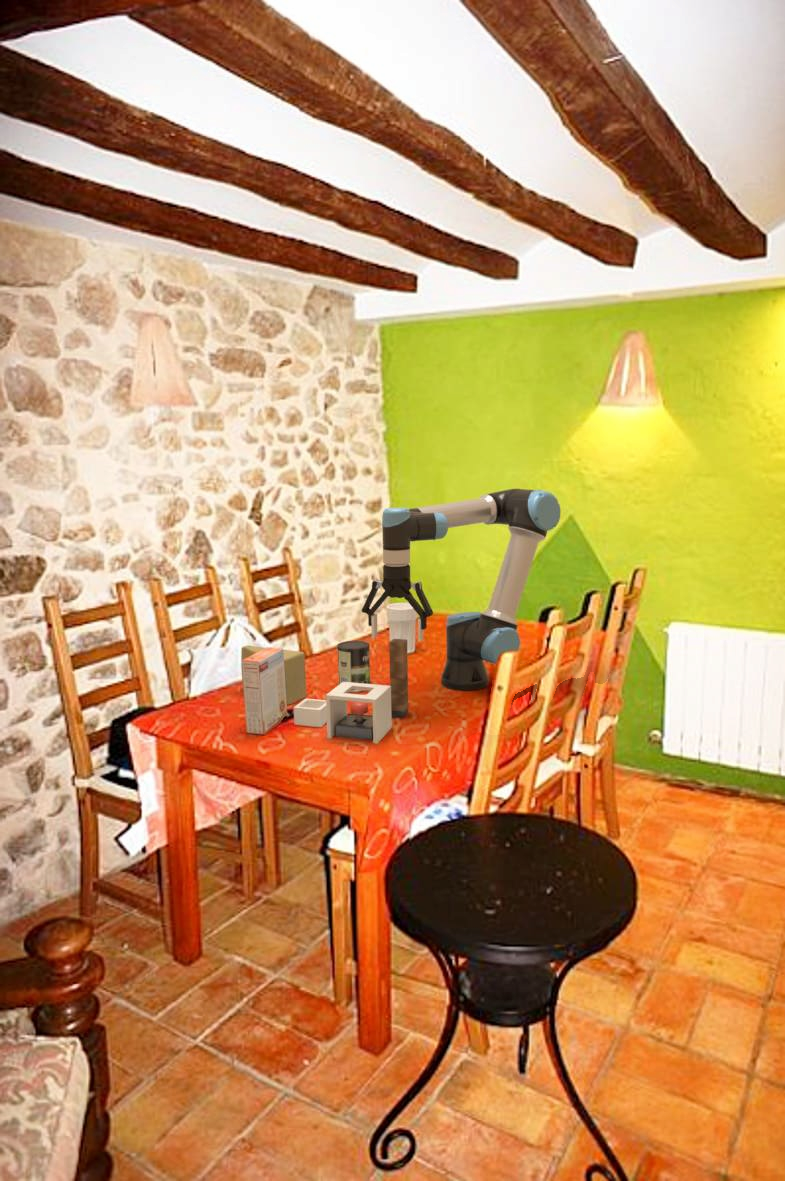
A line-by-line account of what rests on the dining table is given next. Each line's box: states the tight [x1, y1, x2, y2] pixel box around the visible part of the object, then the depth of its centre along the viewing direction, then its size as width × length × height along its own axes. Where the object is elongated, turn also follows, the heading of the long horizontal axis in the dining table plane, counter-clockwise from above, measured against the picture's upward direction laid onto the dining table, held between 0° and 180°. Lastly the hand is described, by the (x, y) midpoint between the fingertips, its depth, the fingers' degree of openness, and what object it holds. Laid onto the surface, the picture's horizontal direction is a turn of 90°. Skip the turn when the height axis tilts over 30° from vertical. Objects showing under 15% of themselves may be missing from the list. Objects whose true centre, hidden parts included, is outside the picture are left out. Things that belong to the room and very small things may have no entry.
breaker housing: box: [335, 712, 373, 742], centre depth 217 cm, size 10×9×4 cm
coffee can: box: [336, 640, 371, 693], centre depth 255 cm, size 10×10×14 cm
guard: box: [325, 682, 393, 745], centre depth 216 cm, size 14×12×12 cm
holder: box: [293, 698, 327, 728], centre depth 226 cm, size 8×8×5 cm
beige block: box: [240, 645, 307, 706], centre depth 248 cm, size 22×10×15 cm, turn 57°
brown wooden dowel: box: [388, 639, 409, 719], centre depth 228 cm, size 4×4×22 cm
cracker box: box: [240, 646, 288, 736], centre depth 222 cm, size 14×6×21 cm, turn 160°
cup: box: [386, 602, 418, 656], centre depth 295 cm, size 11×11×17 cm
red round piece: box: [350, 701, 369, 723], centre depth 216 cm, size 5×5×6 cm
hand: (397, 639), depth 226 cm, fingers open, 13 cm apart
